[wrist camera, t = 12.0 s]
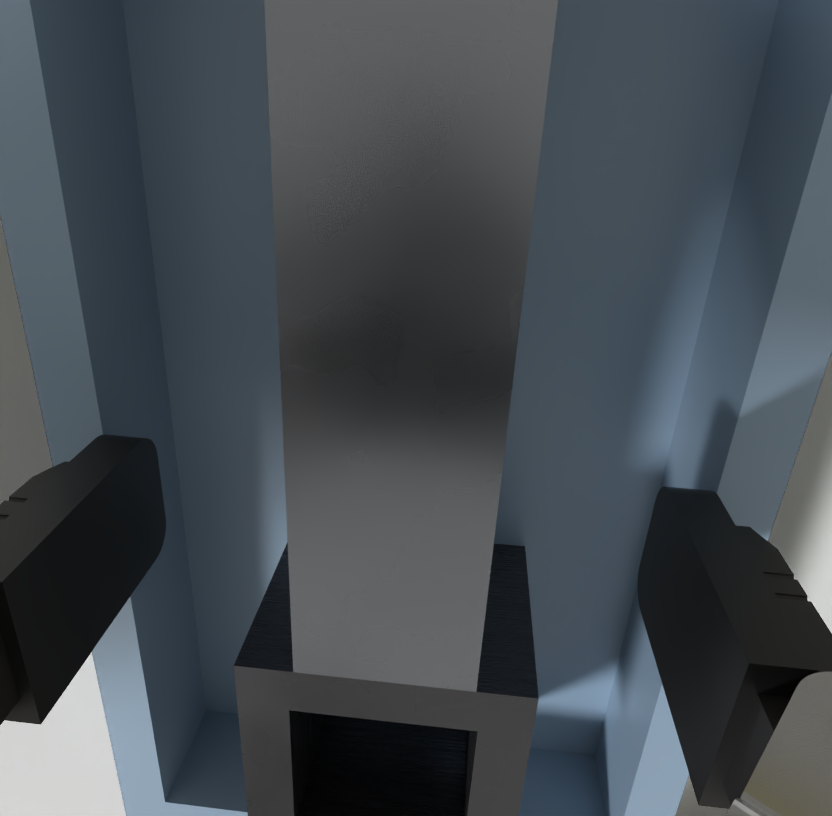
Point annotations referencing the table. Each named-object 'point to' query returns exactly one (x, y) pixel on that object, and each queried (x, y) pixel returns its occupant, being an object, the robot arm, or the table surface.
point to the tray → (535, 358)
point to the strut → (397, 409)
